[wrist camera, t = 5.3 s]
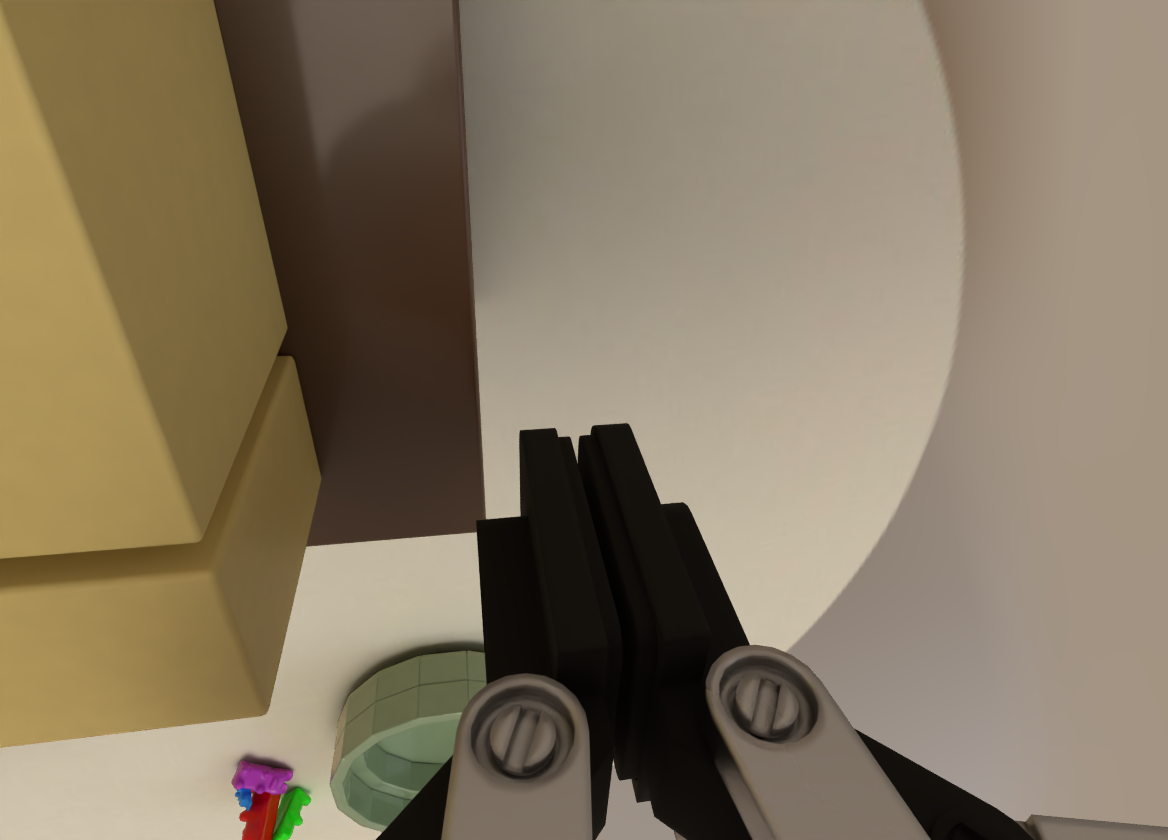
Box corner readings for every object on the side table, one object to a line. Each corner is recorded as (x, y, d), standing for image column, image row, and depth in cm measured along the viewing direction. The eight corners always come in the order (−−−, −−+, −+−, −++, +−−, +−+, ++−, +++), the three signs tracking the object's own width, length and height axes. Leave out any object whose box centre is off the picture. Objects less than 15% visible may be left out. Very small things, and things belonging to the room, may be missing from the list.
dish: (556, 630, 31) (567, 699, 28) (552, 750, 36) (561, 819, 34) (324, 655, 29) (311, 731, 26) (358, 777, 35) (350, 851, 32)
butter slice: (294, 353, 10) (215, 574, 7) (323, 479, 12) (269, 718, 8) (-40, 367, 10) (-332, 622, 6) (34, 499, 11) (-166, 771, 7)
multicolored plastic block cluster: (222, 758, 32) (201, 838, 29) (281, 746, 32) (265, 824, 29) (262, 808, 35) (246, 885, 32) (315, 797, 35) (303, 872, 32)
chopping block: (441, -212, 14) (437, -405, 6) (470, 307, 21) (486, 532, 13) (-358, -282, 12) (-1932, -718, 4) (-38, 324, 19) (-395, 607, 11)
